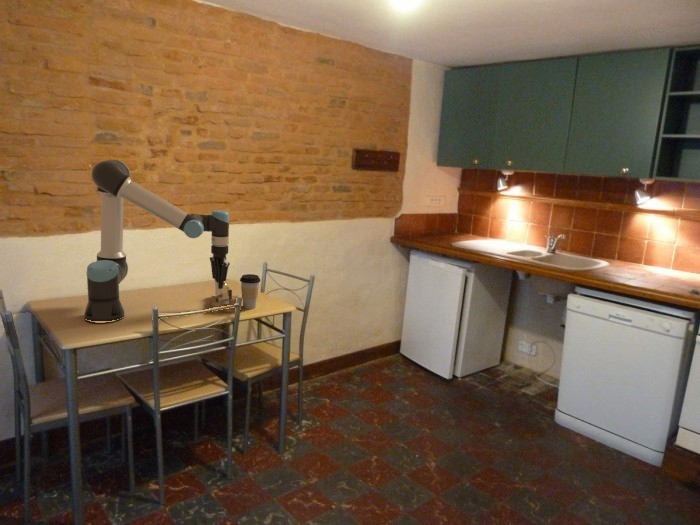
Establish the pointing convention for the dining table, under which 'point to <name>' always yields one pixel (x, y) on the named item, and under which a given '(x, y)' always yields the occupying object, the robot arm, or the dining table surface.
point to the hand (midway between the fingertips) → (218, 294)
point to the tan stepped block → (223, 303)
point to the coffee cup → (249, 290)
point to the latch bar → (224, 290)
